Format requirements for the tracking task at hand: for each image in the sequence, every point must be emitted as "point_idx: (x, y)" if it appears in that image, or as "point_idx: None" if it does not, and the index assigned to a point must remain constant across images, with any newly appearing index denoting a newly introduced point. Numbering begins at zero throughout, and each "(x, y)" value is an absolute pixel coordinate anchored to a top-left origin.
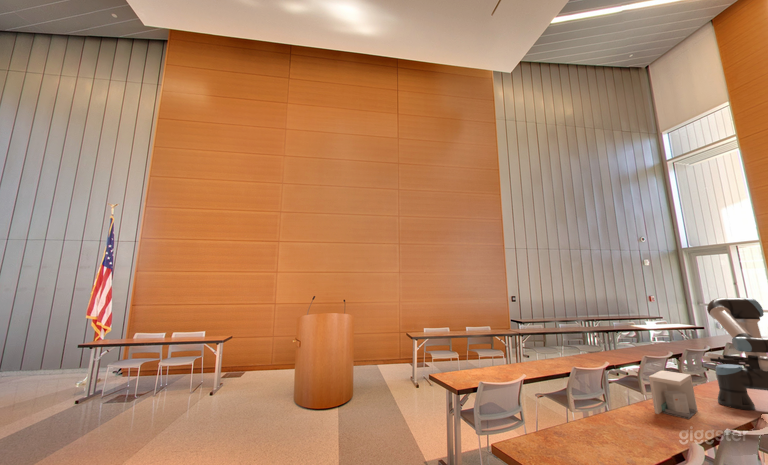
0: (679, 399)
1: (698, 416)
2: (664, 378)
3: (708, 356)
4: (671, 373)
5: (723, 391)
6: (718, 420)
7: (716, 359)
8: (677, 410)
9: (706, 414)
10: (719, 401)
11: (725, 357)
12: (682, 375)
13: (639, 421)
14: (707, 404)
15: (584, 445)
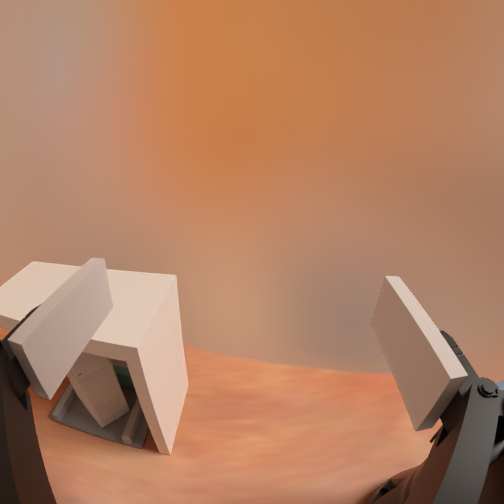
0: (70, 377)
1: (97, 449)
2: (12, 282)
3: (377, 312)
4: (117, 296)
5: (405, 483)
6: (88, 494)
7: (5, 341)
8: (77, 394)
9: (144, 474)
10: (381, 485)
11: (455, 423)
12: None
13: (3, 333)
14: (322, 469)
15: None
